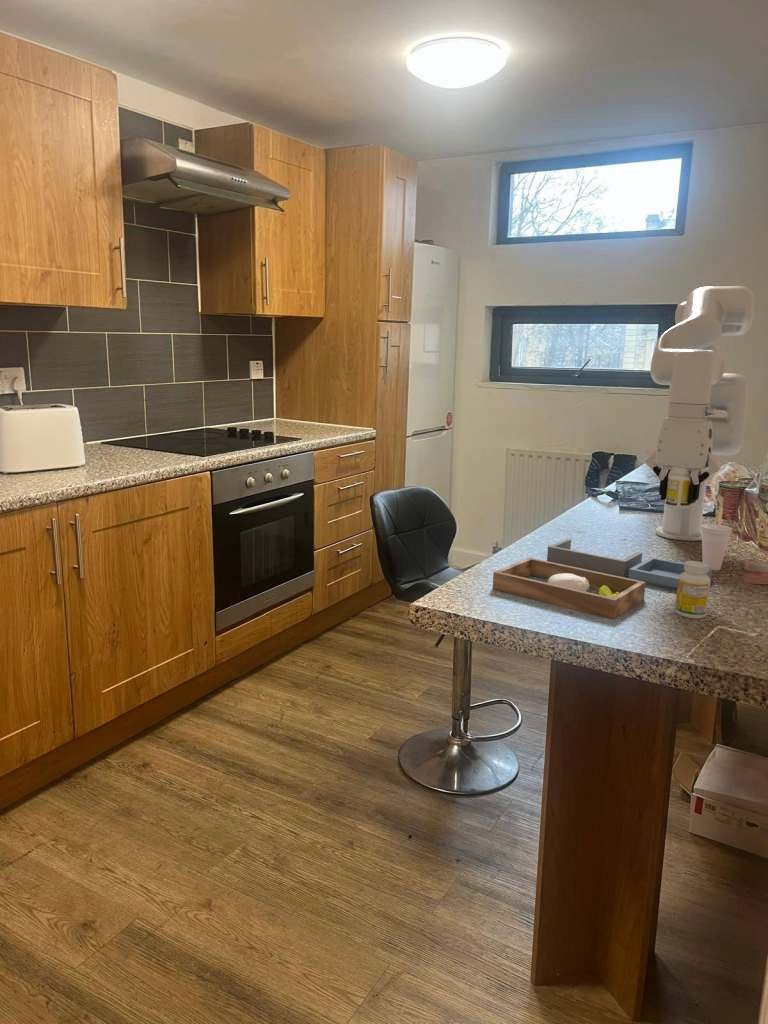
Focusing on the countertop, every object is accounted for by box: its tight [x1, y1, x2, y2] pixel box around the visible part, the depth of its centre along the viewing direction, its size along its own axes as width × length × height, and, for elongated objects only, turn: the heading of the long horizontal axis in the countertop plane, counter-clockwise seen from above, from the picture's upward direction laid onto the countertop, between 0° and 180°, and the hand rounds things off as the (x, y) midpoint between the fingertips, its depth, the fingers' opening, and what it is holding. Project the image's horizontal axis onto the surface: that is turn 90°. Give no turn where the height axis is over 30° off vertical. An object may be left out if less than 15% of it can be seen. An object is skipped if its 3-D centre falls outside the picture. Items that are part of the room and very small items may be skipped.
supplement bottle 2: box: [674, 560, 711, 619], centre depth 134 cm, size 5×5×10 cm
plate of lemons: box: [593, 585, 619, 598], centre depth 141 cm, size 8×8×3 cm
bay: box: [546, 538, 643, 578], centre depth 165 cm, size 10×18×4 cm, turn 51°
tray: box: [627, 557, 713, 591], centre depth 155 cm, size 13×13×2 cm
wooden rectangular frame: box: [492, 557, 647, 620], centre depth 144 cm, size 15×25×4 cm, turn 51°
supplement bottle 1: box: [666, 467, 692, 508], centre depth 151 cm, size 5×5×8 cm
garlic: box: [547, 573, 590, 592], centre depth 145 cm, size 8×7×4 cm
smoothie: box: [701, 507, 733, 571], centre depth 164 cm, size 6×6×14 cm
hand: (678, 499), depth 152 cm, fingers closed on supplement bottle 1, 4 cm apart
